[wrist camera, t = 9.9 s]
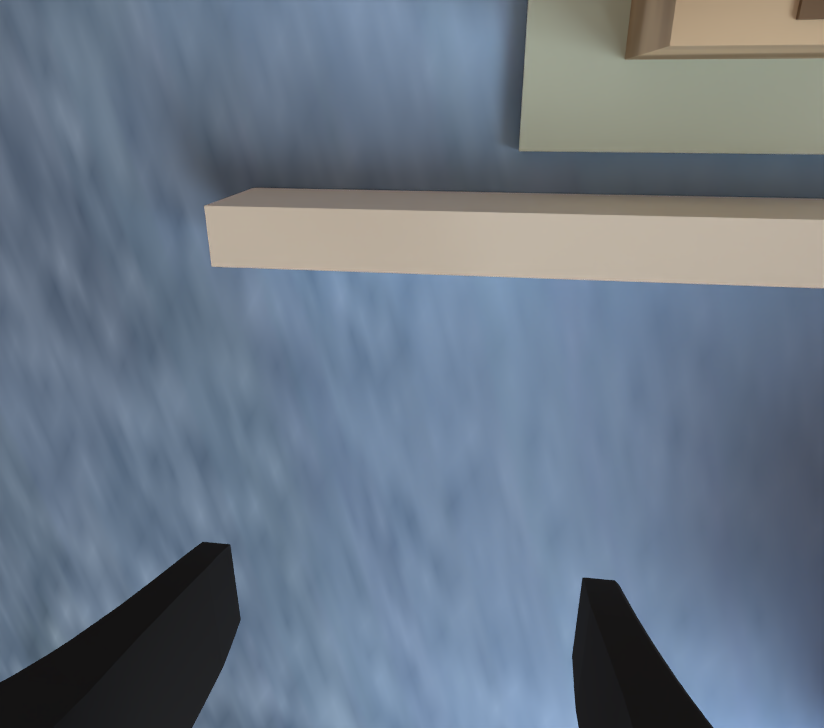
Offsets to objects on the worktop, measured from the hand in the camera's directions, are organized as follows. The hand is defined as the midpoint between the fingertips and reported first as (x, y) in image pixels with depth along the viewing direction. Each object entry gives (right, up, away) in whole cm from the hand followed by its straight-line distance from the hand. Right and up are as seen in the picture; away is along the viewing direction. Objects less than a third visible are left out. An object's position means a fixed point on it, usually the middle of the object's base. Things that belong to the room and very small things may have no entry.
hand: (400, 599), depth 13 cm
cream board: (+6, +9, +6) cm, 12 cm away
